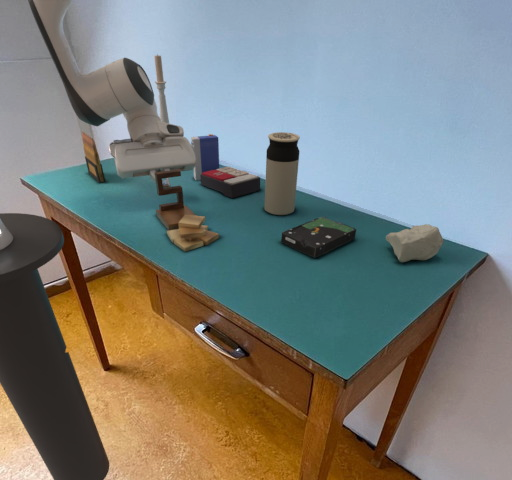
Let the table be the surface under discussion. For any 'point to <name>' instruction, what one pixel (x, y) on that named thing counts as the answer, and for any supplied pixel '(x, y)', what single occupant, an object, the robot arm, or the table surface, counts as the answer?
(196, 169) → the walkman
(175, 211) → the letter S
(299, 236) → the disk drive
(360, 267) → the table surface
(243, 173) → the calculator
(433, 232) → the decorative stone
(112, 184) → the table surface
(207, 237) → the tile pile
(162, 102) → the candlestick
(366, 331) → the table surface
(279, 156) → the travel mug
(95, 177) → the ammunition clip
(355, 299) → the table surface
